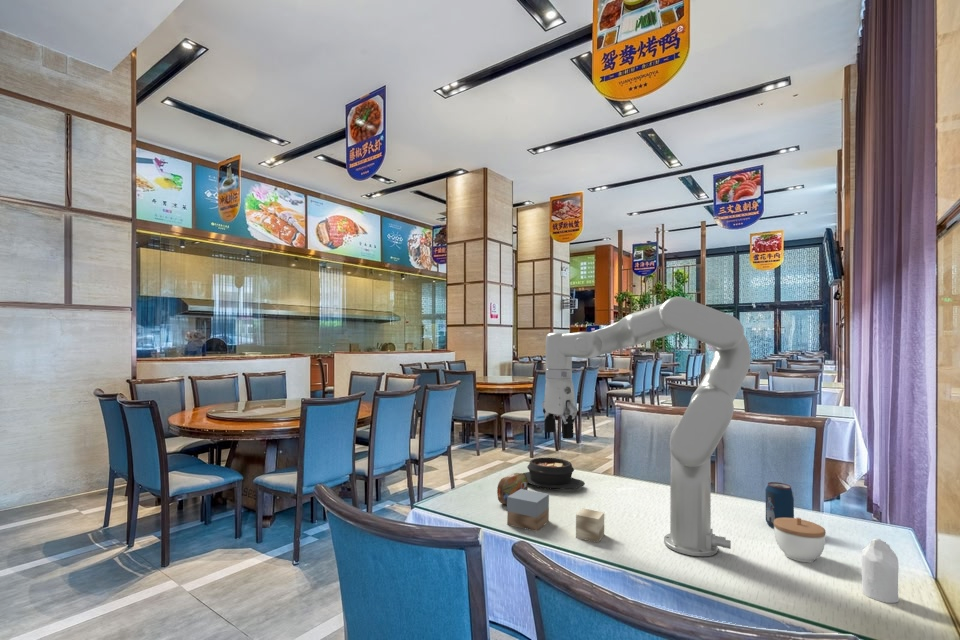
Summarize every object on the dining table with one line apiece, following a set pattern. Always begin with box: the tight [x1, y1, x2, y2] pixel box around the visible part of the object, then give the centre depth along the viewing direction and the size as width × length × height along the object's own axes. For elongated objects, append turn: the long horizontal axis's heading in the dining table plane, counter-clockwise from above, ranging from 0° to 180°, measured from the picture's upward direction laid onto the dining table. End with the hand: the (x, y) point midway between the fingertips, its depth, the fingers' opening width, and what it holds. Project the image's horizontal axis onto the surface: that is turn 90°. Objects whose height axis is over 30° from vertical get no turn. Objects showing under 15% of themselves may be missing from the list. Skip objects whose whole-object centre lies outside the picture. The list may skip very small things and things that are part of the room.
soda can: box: [765, 481, 795, 530], centre depth 139 cm, size 7×7×12 cm
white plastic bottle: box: [861, 538, 899, 604], centre depth 100 cm, size 6×12×6 cm
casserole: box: [523, 457, 585, 490], centre depth 176 cm, size 25×19×8 cm
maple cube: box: [575, 508, 605, 543], centre depth 129 cm, size 6×6×6 cm
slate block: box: [506, 489, 550, 518], centre depth 138 cm, size 9×9×4 cm
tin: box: [496, 472, 529, 506], centre depth 157 cm, size 15×3×8 cm, turn 143°
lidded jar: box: [773, 517, 826, 563], centre depth 119 cm, size 11×11×9 cm
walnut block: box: [506, 507, 550, 532], centre depth 137 cm, size 9×9×4 cm
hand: (558, 435), depth 138 cm, fingers open, 9 cm apart
